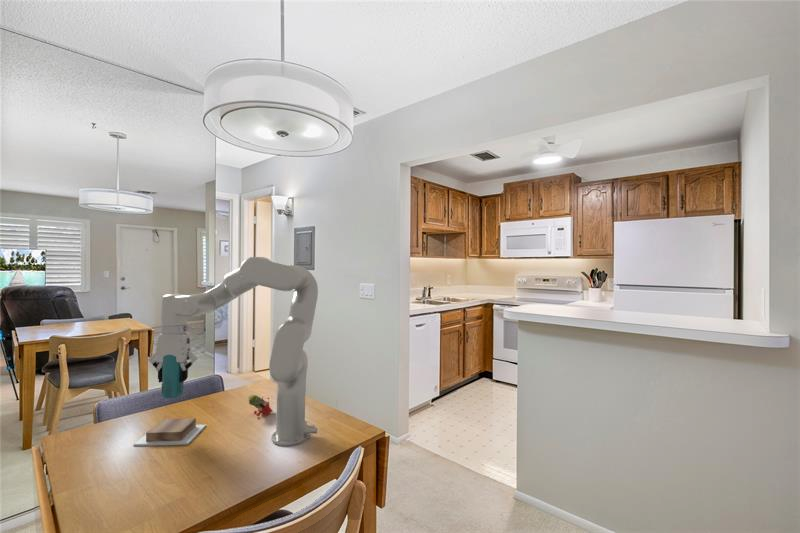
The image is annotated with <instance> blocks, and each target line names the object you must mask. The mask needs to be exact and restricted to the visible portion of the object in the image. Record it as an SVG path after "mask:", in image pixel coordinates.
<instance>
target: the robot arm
mask: <svg viewBox="0 0 800 533" xmlns="http://www.w3.org/2000/svg"><path fill="white" fill-rule="evenodd" d="M259 286H261V287H265V288H269V289H272V290H276V291H281V292H293V297H292V299H291V302H290V309H289V313H288V316H287V319H286V320H285V321H284V322H283V323H281V324H280V326H278V329H277V330H276V332H275V335H274V336H275V337H274V340H273V345H272V349H271V354H270V359H269V366H268V369H269V370H268V371H269V374H270V376H271V378H272V379H273V380H274V381H275V382H277V384H276V386H277V387H276V390H277V391H276V423H275V424H276V429H275V431H274V432H273V433H272V435H271V438H270V439H271V442H272V444H275V445H277V446H282V447H290V446H291V447H292V446H295V445H300V444H302V443H304V442H306V441H307V440H308V439H309V437H310V434H318V426H317V427H316V425H313V424H312V425H309V424H307V422H308V421H307V420H306V390H307V389H306V388H307V387H306V386H307V385H306V384H307V373H308V364H309V363H308V354H307V353H306V351H305V350H304V345H305V343H306V342H307V341H308V340H309V339H310V337H311V335H312V330H313V324H314V319H315V315H316V313H315V312H316V307H317V301H318V296H319V295H318V294H319V288H318V283H317V280H316V278H315V276H314V275H313V274H312V273H311V272H310V271H309V270H308V269H307V268H305V267H303V266H301V265H296V264H293V265H292V264H291V265H286V264H283V263H278V262H274V261H272V260H270V259H269V258H267V257H265V256H250V257H248V258H245V260H243V261H242V263H241V264H240V266H239V267H237V268H236V269H234V270H232V271H230V272H228V273H226V274H225V275H224V277H223V280H222V282H221V283H219V284H218V285H216V286H214V287H212V288H211V289H209V290H207V291H205V292H201V293H194V294H188V295H187V294H182V293H167V294H165V295H163V296H162V297H161V321H160V322H161V325H160V327H161V330H160V332H161V333H159V335H158V337H157V342H156V348H155V352H154V354H153V355H151V356H150V357H149V358H148V362H150V364H152V366H153V367H154V368H155V370H156V371H157V379H158V383H162V363H163V357H164V356H166V355H173V356H175V357H176V360H177V363H180V366H181V368H182V371H181V372H180V382H183V383H184V382H185V381H187V379H188V375H189V373H188V372H189V369H190V367H191V366H192V365H194V364H195V363H196V361H198V357H197V356H196V355H195V354H194V353H193V352H192V342H191V335H190V332H188V331H190V330H191V326H189V325H188V324H187V322H188V320H187V319H188V318H187V317H198V316H202V315H205V314H209V313H212V312H214V311H217V310H218V309H219V308H221V307H223V306H225V305H227V304H229V303H230V302H231V301H234V300H235V299H238V297H240V296H242V295H243V294H245V293H248V292H249V291H251V290H252V289H255V288H256V287H259Z"/></svg>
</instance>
